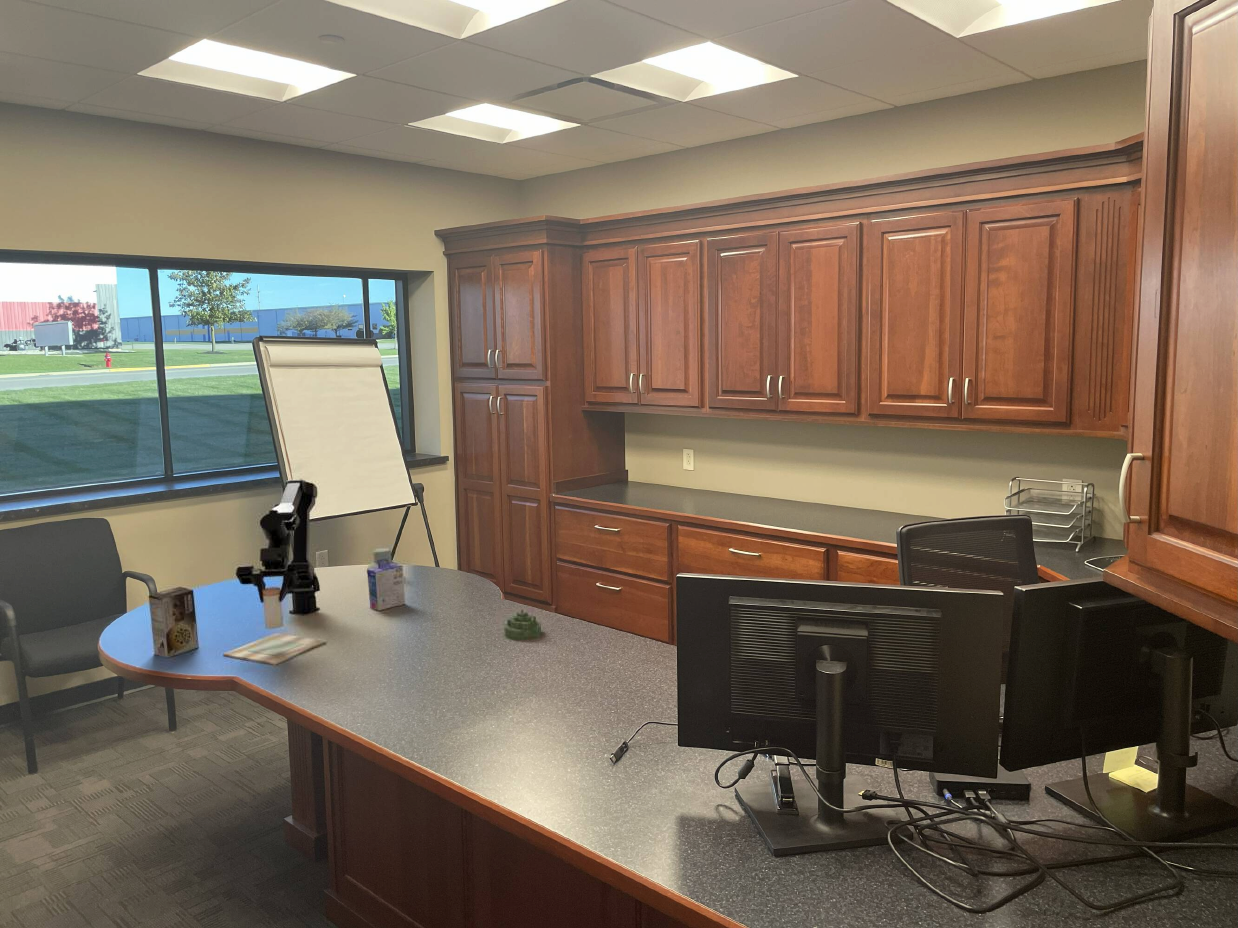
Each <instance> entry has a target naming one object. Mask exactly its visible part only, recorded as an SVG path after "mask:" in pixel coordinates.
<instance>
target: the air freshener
mask: <svg viewBox="0 0 1238 928" xmlns="http://www.w3.org/2000/svg"><path fill="white" fill-rule="evenodd" d="M372 555H373V556H372V557H373V562H372V563H370V564H369V565H368V566H367V568H366V571H367V570H369V569H373V568H377V567H379V566H378V563H377V560H381V559H386V558H387V559H388V562H389V564H398V563H397V562H396V561H394V560H392V549H390V548H388V547H385V548H384V547H382V548H376V549H374V550H373V552H372ZM385 563H387V562H386V561H382V562H380V564H385Z"/></svg>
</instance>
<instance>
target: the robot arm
mask: <svg viewBox="0 0 1238 928" xmlns="http://www.w3.org/2000/svg"><path fill="white" fill-rule="evenodd" d="M284 487H285V489H284V492H283V495H282V498H281V499H280V502H279V503H278V505H277V506H275V507H273V508H272V509H270V510H269V511H268V513H267V514H265V515H263V517H261V519H260V521H259V525H260V528H261V530H262V532H263V535H264V536H265V539H266V540H268V543H267V547H263V548H260V550H259V553H260V554H259V561H260V562H261V567H262V568H263V569H262V568H254V564H253V565H252V564H247V565H246V564H245V565H239V566H238V567H236V570H235V575H236V579H238V581H239V583H240V584H241V585H253V586H254V587H256V588H257V592H258V596H259V601H260V603H261V604H264V603H263V589H266V585H267V584H266V582H265V580H264V579H265V578H274V577H275V578H280V577H282V584H281V588H280V589H281V592H280V598H279V601H280V602H281V603H282V602H283V600H284V599H285V598H286V596H287V595H290V594H291V599H292V600H291V601H292V609H290V610H289V612H288V613H289V614H295V615H303V616H306V615H308V614H311V613H313V612H317V611H319V610H320V609H321V608H320V607H319V606H317V597H316V593H317V592H320V591H321V589H320V588H321V585H320V580H319V578H318V576H317V573H316V572H315V567H314V565H313V564H312V562H311V560H310V524H311V523H310V521H311V520H310V515H311V511H312V509H313V508H314V507H315V505H316V499H317V497H318V494H319V493H318V487H317V485H316V484H315V483H313V482H309V481H306V480H304V479H300V478H299V479H288V480H286V481H285V486H284ZM289 532H293V543H292V534H291V533H289ZM292 544H293V550H292V553H293V554H292V555H293V557H292V560H291V561H290V550H291V545H292Z"/></svg>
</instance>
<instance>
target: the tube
mask: <svg viewBox="0 0 1238 928" xmlns="http://www.w3.org/2000/svg"><path fill="white" fill-rule="evenodd" d="M280 592H281V588H280V587H279V586H278V587H277V586H271V587H265V589H263V603H262V604H263V613H264V625H265V626H264V627H265V629H267V630H269V629H270V630H271V629H272V630H273V629H279V628H282V627H283V626H284V618H283V605H282V602H280V601H279V598H280Z"/></svg>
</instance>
